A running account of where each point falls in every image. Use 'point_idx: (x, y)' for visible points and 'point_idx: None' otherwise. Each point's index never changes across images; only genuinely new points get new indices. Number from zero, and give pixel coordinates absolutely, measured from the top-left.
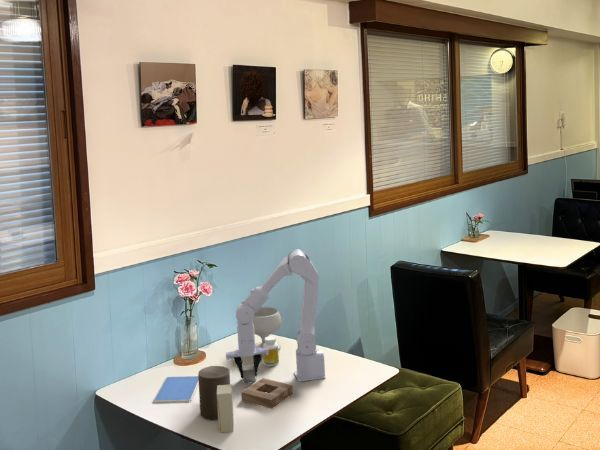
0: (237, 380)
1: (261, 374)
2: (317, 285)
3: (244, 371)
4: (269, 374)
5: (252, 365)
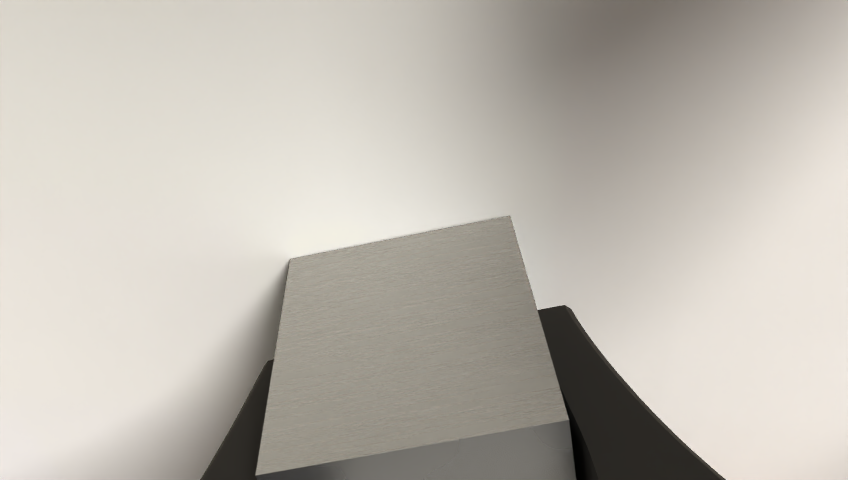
0: (212, 313)
1: (678, 103)
2: None
3: None
4: (840, 118)
5: (550, 453)
